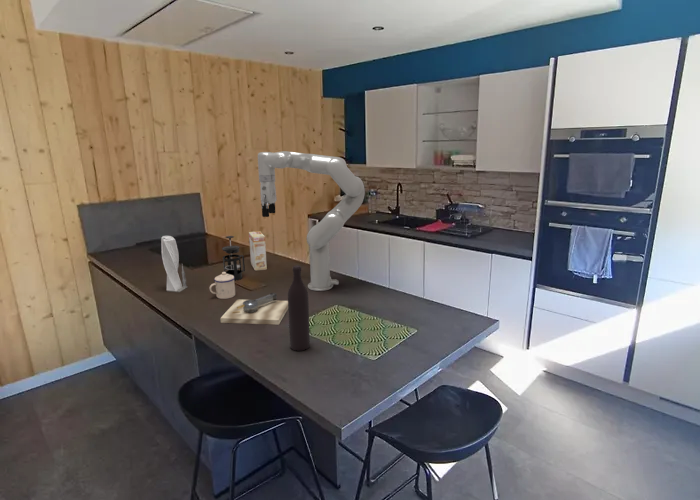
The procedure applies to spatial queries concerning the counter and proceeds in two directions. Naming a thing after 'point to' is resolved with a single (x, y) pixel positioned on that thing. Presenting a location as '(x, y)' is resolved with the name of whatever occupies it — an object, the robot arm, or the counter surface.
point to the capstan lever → (257, 302)
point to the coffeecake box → (257, 250)
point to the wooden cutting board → (256, 313)
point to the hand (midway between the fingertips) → (269, 214)
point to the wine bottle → (298, 312)
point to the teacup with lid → (224, 286)
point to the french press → (233, 268)
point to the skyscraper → (172, 264)
